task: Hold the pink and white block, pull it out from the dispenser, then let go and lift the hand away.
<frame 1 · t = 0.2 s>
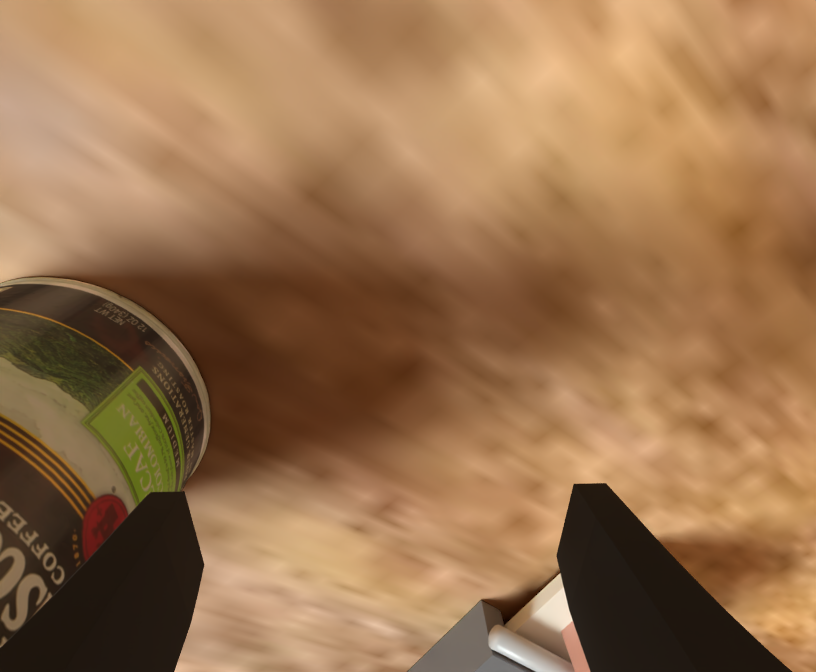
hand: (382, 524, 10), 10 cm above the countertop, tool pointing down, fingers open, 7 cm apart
coffee can: (77, 400, 21), on the countertop
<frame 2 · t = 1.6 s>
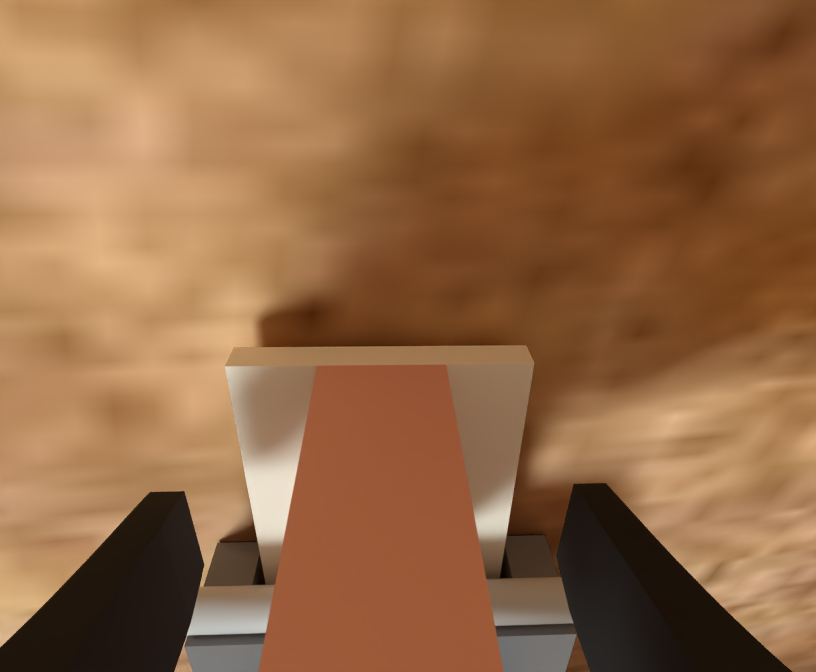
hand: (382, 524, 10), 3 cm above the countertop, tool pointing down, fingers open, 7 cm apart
dispenser: (384, 634, 17), on the countertop
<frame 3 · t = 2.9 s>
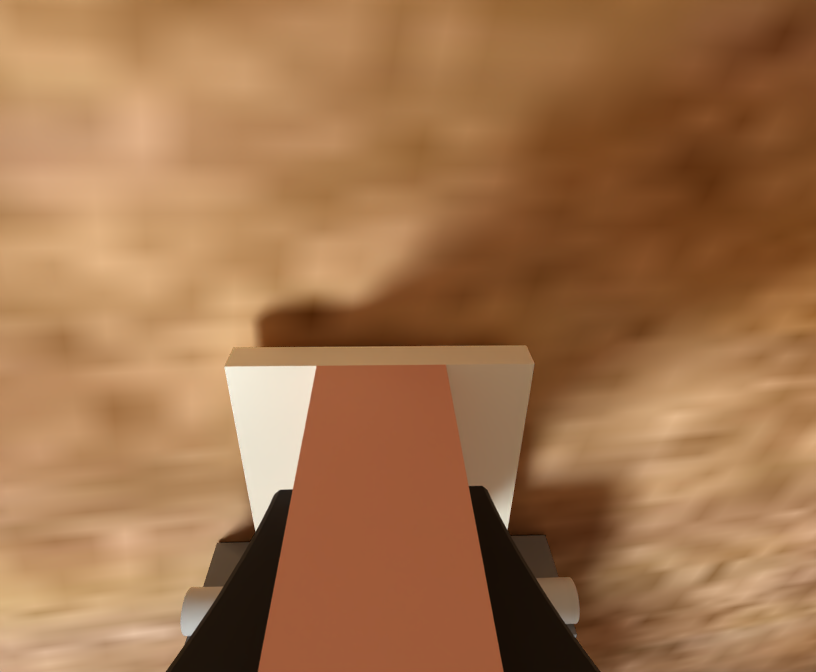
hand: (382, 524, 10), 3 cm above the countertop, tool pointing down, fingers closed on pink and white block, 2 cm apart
dispenser: (384, 634, 17), on the countertop
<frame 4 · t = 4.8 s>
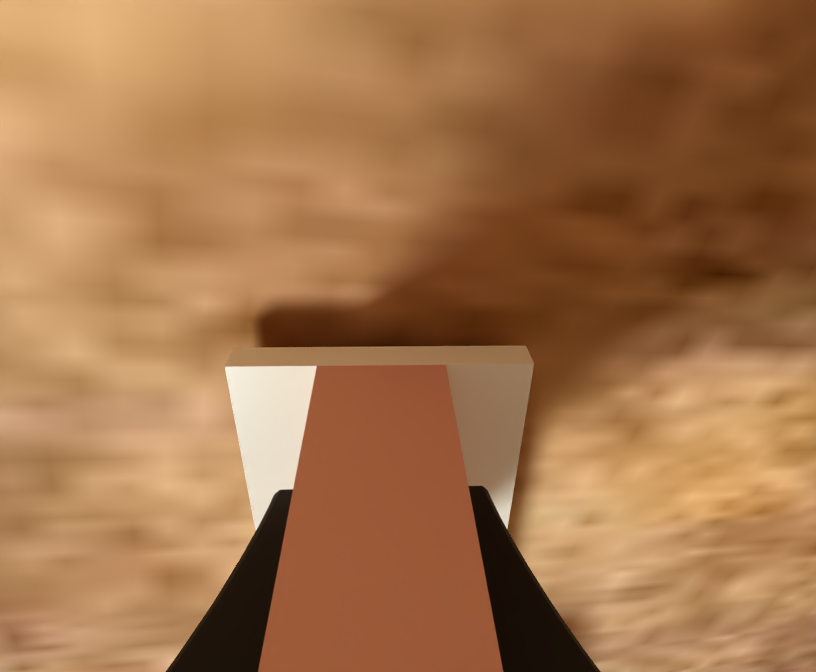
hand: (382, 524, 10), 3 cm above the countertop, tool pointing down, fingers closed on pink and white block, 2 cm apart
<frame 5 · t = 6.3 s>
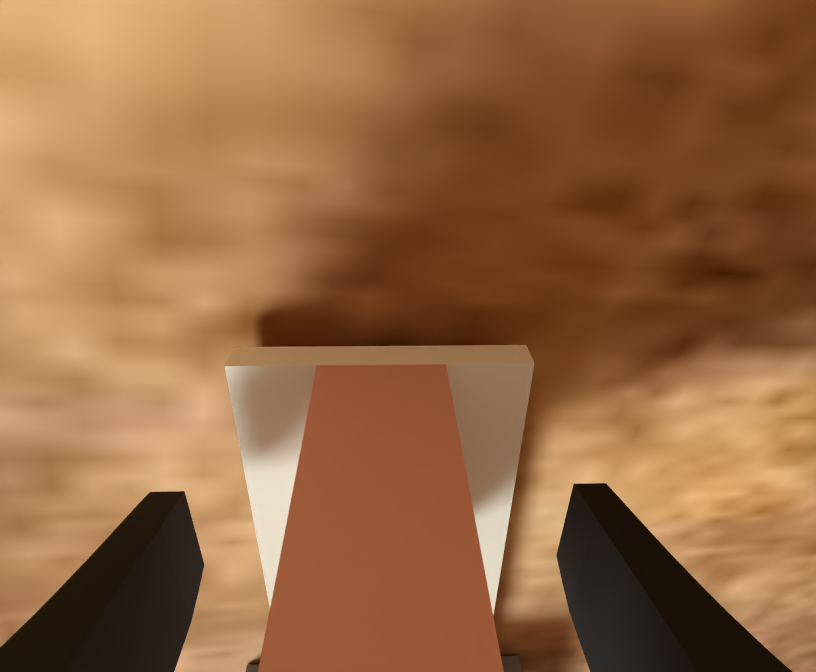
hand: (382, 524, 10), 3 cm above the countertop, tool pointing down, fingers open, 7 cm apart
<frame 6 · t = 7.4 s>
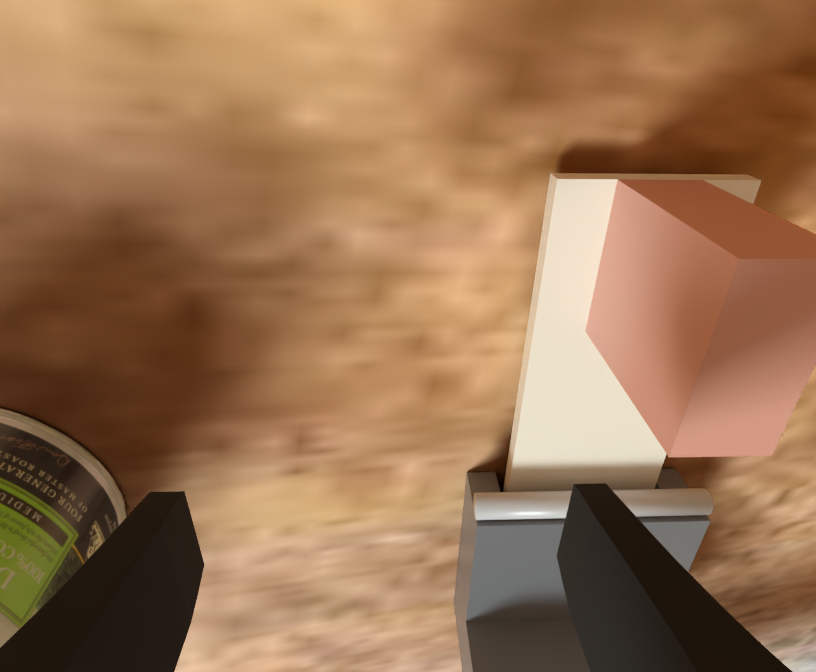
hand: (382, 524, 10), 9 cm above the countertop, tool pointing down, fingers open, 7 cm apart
dispenser: (555, 541, 25), on the countertop
pink and white block: (635, 447, 17), point 4 cm above the countertop, slide at 6.0 cm
coffee can: (0, 494, 22), on the countertop
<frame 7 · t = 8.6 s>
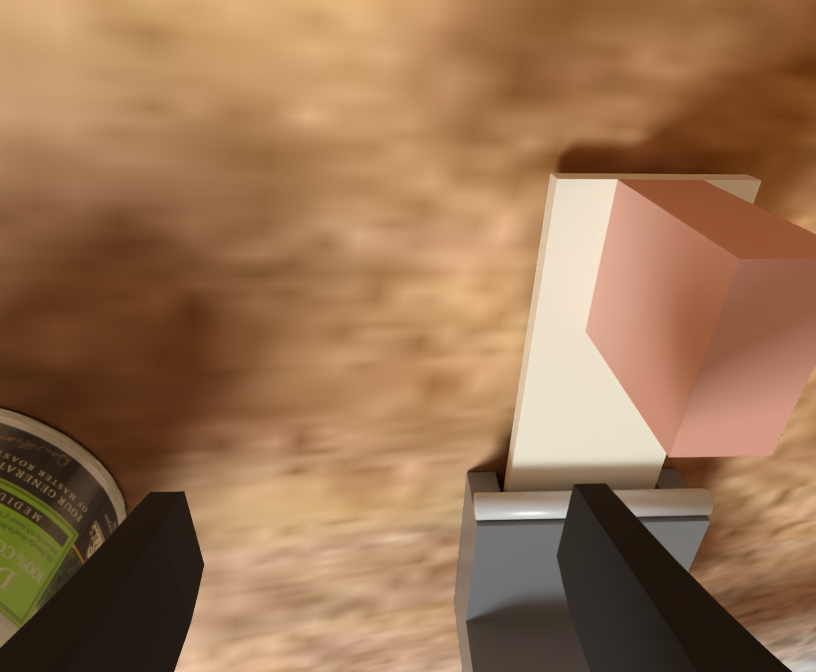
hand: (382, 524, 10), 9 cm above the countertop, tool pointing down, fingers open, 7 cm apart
dispenser: (555, 541, 25), on the countertop
pink and white block: (635, 447, 17), point 4 cm above the countertop, slide at 6.0 cm
coffee can: (0, 493, 22), on the countertop
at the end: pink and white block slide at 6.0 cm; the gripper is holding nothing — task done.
